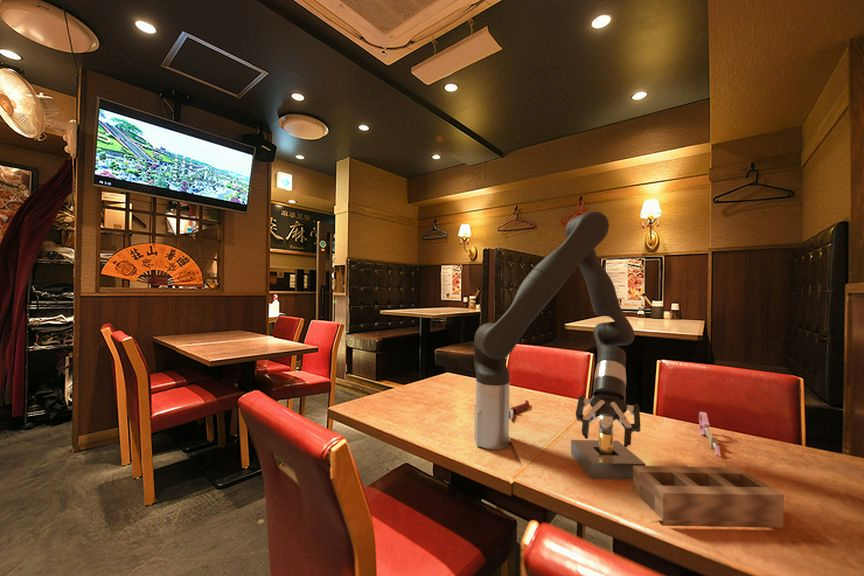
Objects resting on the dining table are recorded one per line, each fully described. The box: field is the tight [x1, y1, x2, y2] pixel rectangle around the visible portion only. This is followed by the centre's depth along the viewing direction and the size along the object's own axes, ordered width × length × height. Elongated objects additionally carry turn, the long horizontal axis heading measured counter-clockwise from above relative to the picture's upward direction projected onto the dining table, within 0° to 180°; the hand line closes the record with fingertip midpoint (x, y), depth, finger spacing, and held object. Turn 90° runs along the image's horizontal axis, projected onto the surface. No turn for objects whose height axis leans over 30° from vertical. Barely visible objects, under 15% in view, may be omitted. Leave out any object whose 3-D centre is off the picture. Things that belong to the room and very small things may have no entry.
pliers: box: [509, 399, 530, 421], centre depth 125 cm, size 12×20×3 cm, turn 161°
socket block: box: [570, 439, 647, 481], centre depth 86 cm, size 12×12×4 cm
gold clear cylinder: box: [598, 414, 614, 455], centre depth 86 cm, size 3×3×12 cm
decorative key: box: [698, 411, 722, 458], centre depth 101 cm, size 7×1×20 cm
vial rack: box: [632, 465, 785, 529], centre depth 71 cm, size 22×10×6 cm, turn 90°
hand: (605, 441), depth 85 cm, fingers open, 8 cm apart
